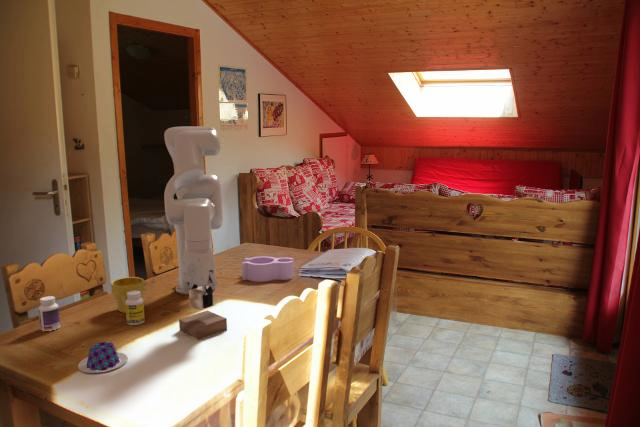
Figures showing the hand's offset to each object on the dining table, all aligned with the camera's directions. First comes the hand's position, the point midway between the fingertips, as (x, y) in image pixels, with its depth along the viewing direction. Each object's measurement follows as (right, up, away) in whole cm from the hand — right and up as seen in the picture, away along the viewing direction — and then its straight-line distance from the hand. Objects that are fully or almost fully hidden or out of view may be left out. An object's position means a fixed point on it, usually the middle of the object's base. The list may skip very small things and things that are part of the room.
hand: (201, 304), depth 157 cm
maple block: (0, -1, 0) cm, 1 cm away
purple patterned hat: (-21, -13, -19) cm, 31 cm away
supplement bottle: (-23, -7, +9) cm, 25 cm away
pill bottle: (-47, -8, +4) cm, 48 cm away
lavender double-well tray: (+15, +1, +55) cm, 56 cm away
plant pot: (-29, -5, +20) cm, 35 cm away
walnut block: (0, -8, +2) cm, 9 cm away
